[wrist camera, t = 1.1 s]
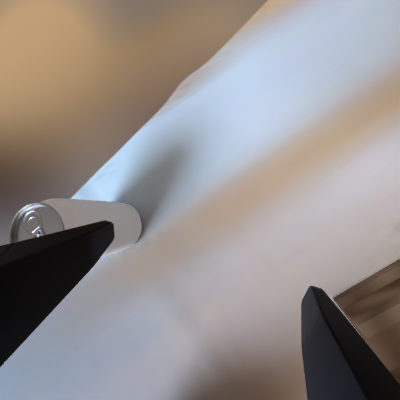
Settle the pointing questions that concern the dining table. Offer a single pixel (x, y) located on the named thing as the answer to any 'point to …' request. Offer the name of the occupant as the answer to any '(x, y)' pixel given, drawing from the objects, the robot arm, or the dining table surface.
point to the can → (77, 220)
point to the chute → (377, 314)
